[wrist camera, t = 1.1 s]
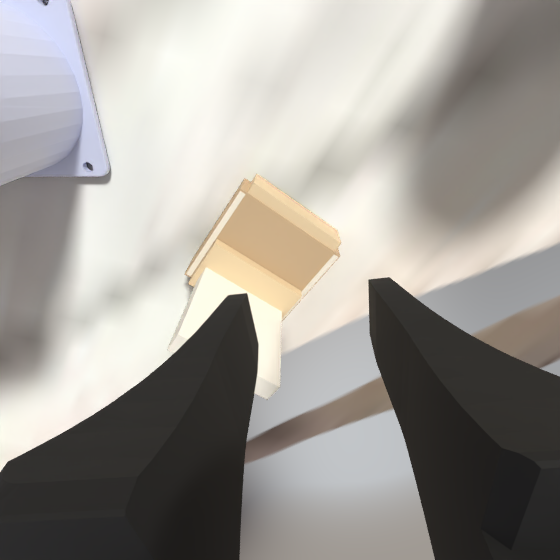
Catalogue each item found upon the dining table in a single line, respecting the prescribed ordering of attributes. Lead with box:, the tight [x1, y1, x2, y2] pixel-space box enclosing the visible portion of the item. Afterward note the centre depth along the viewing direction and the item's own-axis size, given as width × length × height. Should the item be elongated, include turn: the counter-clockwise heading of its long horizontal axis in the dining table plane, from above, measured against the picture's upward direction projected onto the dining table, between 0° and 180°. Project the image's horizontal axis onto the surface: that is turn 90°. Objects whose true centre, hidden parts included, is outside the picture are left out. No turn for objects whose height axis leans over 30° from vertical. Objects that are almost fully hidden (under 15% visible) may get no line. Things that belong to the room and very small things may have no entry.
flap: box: [167, 239, 302, 400], centre depth 18 cm, size 3×6×6 cm, turn 55°
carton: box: [185, 174, 341, 321], centre depth 20 cm, size 7×6×2 cm
